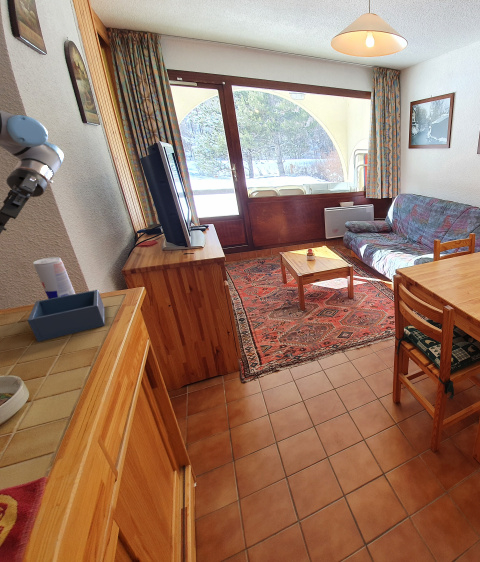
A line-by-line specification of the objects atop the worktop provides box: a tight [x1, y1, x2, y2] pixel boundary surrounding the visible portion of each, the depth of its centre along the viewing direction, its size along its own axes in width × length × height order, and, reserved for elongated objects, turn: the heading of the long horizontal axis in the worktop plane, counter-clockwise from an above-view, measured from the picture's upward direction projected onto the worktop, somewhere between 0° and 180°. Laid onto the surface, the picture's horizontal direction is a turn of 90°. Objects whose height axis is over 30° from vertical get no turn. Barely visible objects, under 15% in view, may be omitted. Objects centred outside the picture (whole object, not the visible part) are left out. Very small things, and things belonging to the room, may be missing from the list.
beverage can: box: [32, 256, 76, 299], centre depth 88 cm, size 6×6×15 cm
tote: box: [27, 289, 106, 343], centre depth 82 cm, size 13×13×6 cm
